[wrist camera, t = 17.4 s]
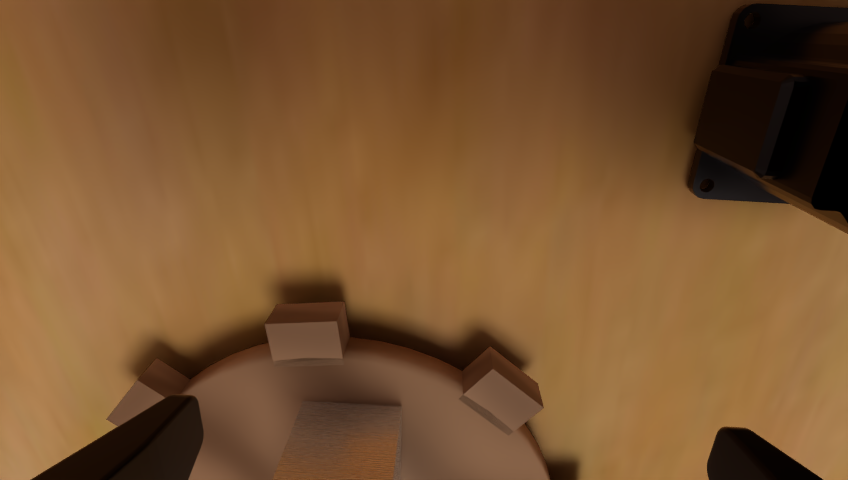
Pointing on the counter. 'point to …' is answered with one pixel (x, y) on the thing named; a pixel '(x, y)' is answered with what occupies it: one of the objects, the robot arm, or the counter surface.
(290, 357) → the flat round disc
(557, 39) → the counter surface
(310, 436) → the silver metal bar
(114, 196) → the counter surface
